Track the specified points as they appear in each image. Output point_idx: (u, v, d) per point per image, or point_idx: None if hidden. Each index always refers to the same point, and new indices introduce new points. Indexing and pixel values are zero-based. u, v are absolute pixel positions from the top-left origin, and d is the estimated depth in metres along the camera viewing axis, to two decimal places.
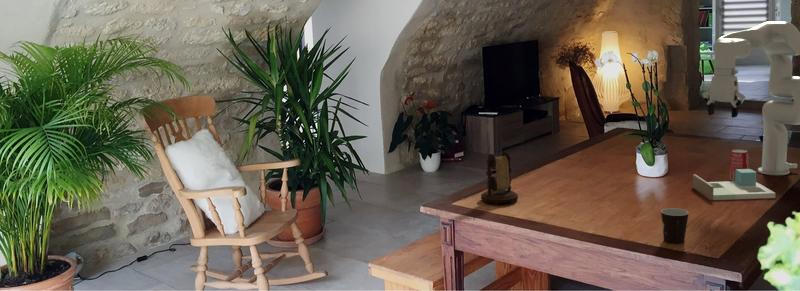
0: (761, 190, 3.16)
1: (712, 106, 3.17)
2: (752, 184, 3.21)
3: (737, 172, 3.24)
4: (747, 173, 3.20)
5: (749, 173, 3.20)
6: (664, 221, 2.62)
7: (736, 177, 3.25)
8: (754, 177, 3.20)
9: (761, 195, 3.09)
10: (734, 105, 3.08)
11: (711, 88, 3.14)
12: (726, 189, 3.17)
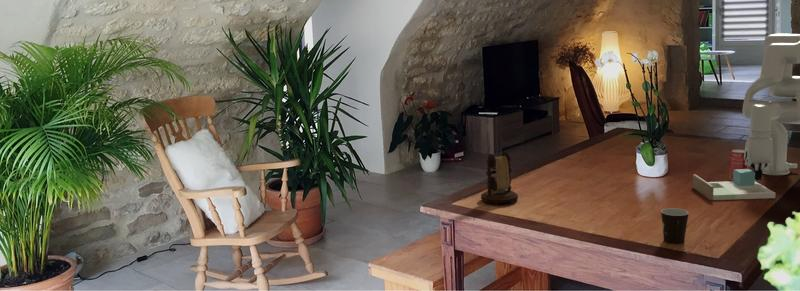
0: (761, 190, 3.16)
1: None
2: (751, 184, 3.21)
3: (736, 172, 3.24)
4: (746, 173, 3.20)
5: (748, 173, 3.20)
6: (664, 221, 2.62)
7: (735, 177, 3.25)
8: (753, 177, 3.20)
9: (761, 195, 3.09)
10: (762, 168, 3.21)
11: (751, 151, 3.19)
12: (726, 189, 3.17)
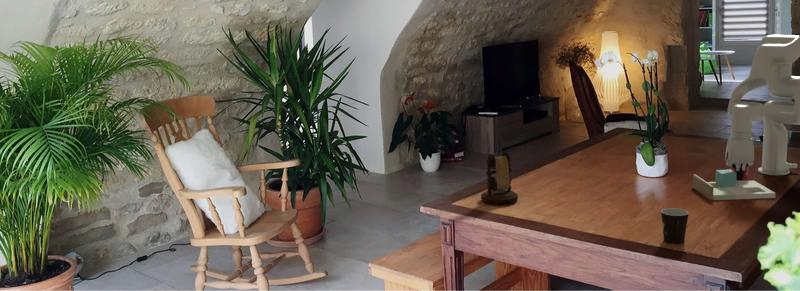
0: (761, 190, 3.16)
1: None
2: (732, 185, 3.21)
3: (717, 173, 3.24)
4: (727, 174, 3.20)
5: (729, 174, 3.20)
6: (664, 221, 2.62)
7: (716, 178, 3.25)
8: (734, 178, 3.20)
9: (761, 195, 3.09)
10: (743, 168, 3.21)
11: (732, 152, 3.19)
12: (726, 189, 3.17)
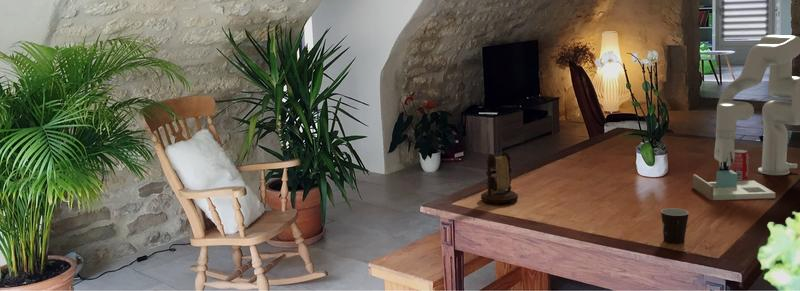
0: (761, 190, 3.16)
1: None
2: (733, 185, 3.20)
3: (718, 173, 3.23)
4: (728, 174, 3.19)
5: (730, 174, 3.19)
6: (664, 221, 2.62)
7: (717, 178, 3.24)
8: (735, 178, 3.19)
9: (761, 195, 3.09)
10: None
11: (734, 150, 3.21)
12: (726, 189, 3.17)
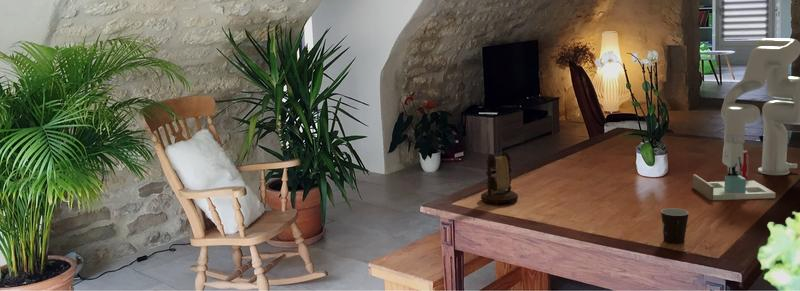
0: (761, 190, 3.16)
1: None
2: (741, 191, 3.11)
3: (726, 179, 3.14)
4: (736, 180, 3.10)
5: (738, 180, 3.10)
6: (664, 221, 2.62)
7: (725, 184, 3.15)
8: (743, 184, 3.10)
9: (761, 195, 3.09)
10: None
11: None
12: None
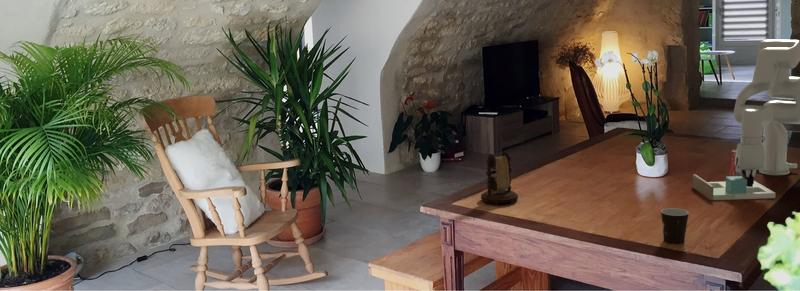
0: (761, 190, 3.16)
1: None
2: (742, 192, 3.10)
3: (727, 179, 3.13)
4: (737, 181, 3.09)
5: (739, 181, 3.09)
6: (664, 221, 2.62)
7: (726, 184, 3.14)
8: (744, 185, 3.09)
9: (761, 195, 3.09)
10: (754, 174, 3.11)
11: (742, 157, 3.09)
12: None
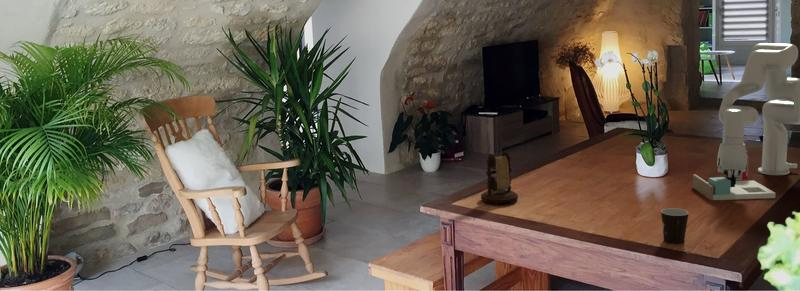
0: (761, 190, 3.16)
1: None
2: (726, 193, 3.09)
3: (711, 181, 3.12)
4: (721, 182, 3.08)
5: (723, 182, 3.08)
6: (664, 221, 2.62)
7: None
8: (728, 186, 3.09)
9: (761, 195, 3.09)
10: (736, 175, 3.11)
11: (724, 158, 3.09)
12: None
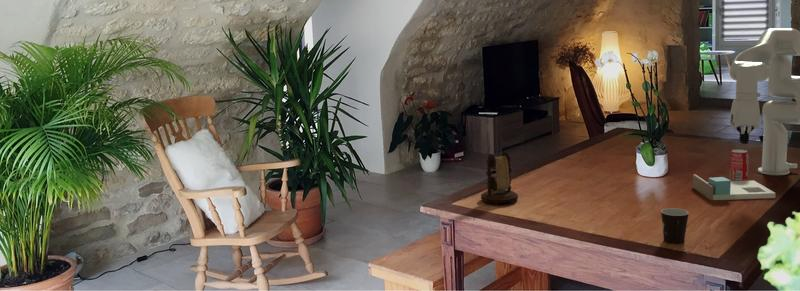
0: (761, 190, 3.16)
1: None
2: (726, 193, 3.09)
3: (710, 181, 3.12)
4: (721, 182, 3.08)
5: (723, 182, 3.08)
6: (664, 221, 2.62)
7: None
8: (728, 185, 3.09)
9: (761, 195, 3.09)
10: (749, 131, 3.08)
11: (737, 114, 3.06)
12: None
